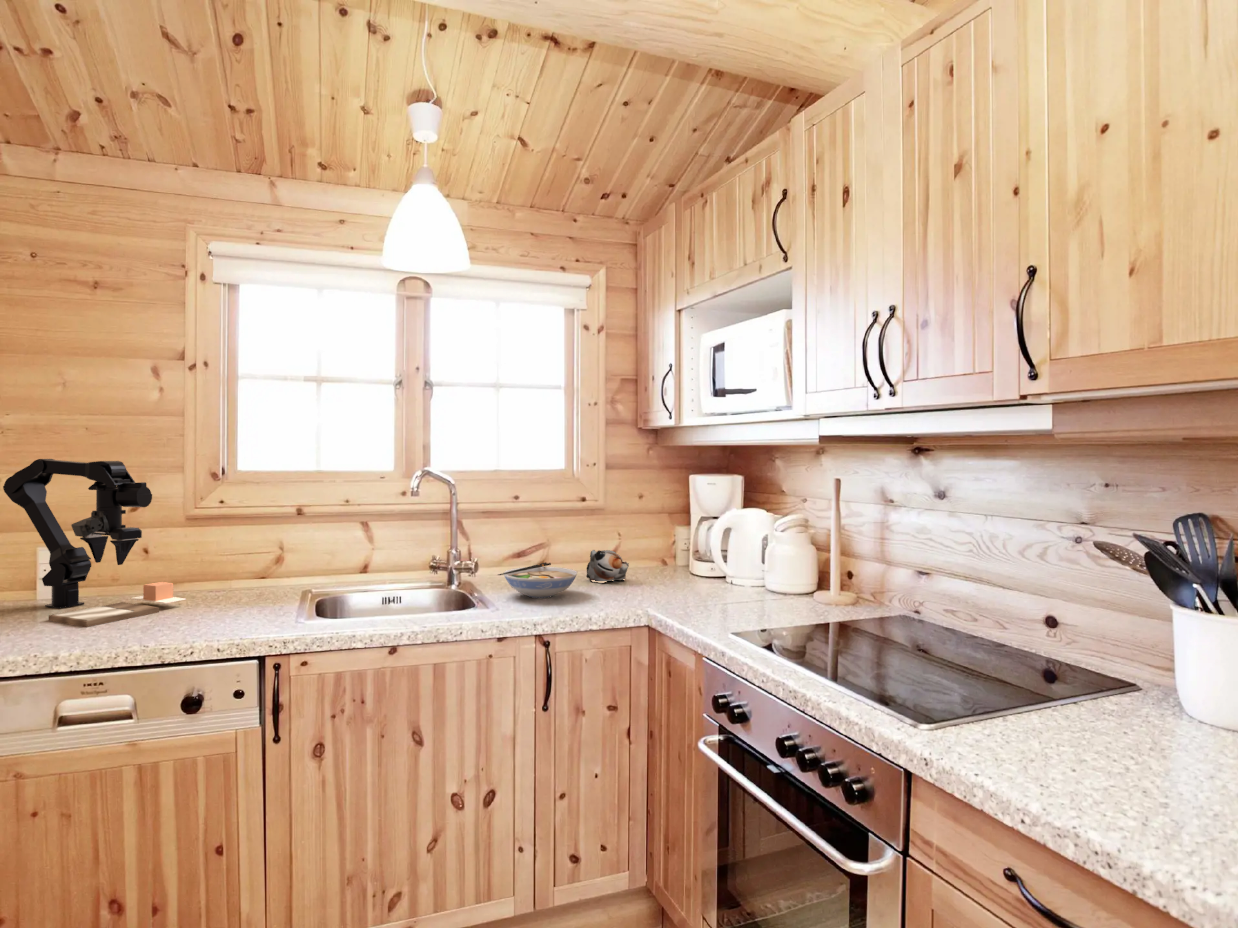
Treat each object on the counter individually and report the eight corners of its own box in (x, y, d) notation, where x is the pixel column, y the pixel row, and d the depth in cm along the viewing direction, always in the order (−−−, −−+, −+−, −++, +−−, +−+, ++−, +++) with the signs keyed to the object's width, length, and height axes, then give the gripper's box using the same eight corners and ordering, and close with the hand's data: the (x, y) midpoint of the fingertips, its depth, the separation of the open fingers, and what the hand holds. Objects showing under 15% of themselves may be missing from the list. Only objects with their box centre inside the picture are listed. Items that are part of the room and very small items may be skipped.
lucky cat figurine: (631, 578, 250) (637, 547, 243) (618, 597, 240) (624, 565, 233) (592, 564, 254) (598, 532, 247) (578, 582, 244) (583, 549, 237)
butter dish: (130, 598, 196) (130, 583, 196) (152, 594, 202) (152, 580, 202) (165, 603, 191) (165, 587, 191) (186, 599, 197) (186, 584, 197)
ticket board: (48, 620, 178) (48, 614, 178) (122, 606, 195) (122, 601, 195) (86, 626, 172) (86, 620, 172) (159, 612, 189) (159, 606, 189)
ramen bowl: (545, 608, 201) (545, 579, 201) (484, 598, 213) (485, 571, 213) (593, 594, 222) (594, 568, 222) (536, 585, 234) (536, 561, 234)
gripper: (55, 507, 190) (54, 565, 190) (100, 510, 182) (99, 570, 183) (99, 504, 200) (98, 559, 200) (143, 507, 193) (143, 564, 193)
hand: (108, 563), depth 194 cm, fingers open, 9 cm apart
